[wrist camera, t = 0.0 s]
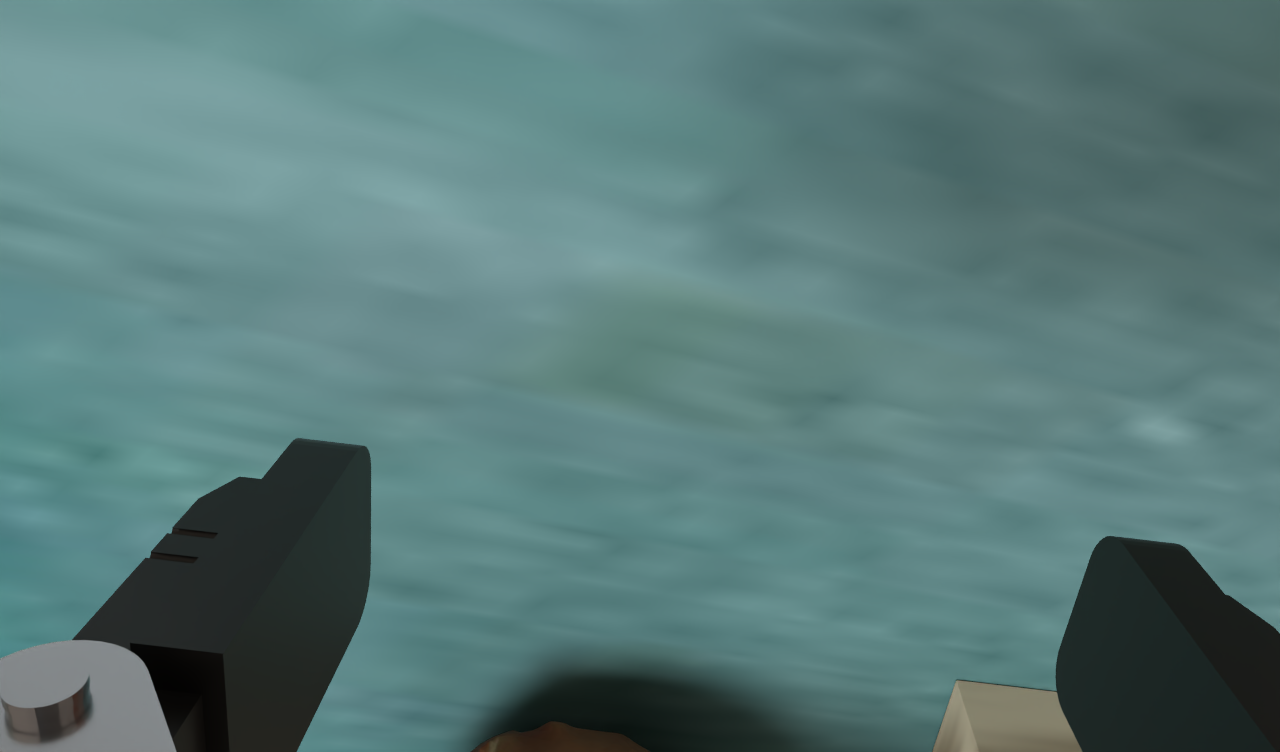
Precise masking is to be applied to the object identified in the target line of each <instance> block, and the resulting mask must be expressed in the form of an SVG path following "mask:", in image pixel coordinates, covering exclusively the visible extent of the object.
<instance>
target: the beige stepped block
mask: <svg viewBox="0 0 1280 752" xmlns="http://www.w3.org/2000/svg"><path fill="white" fill-rule="evenodd" d="M932 752H1082V750H1081V748H1080V746H1079V744H1078V742H1077V740H1076V738H1075V736H1074V734H1073V732H1072V730H1071V728H1070V726H1069V724H1068V722H1067V719H1066V717H1065V715H1064V713H1063V711H1062V709H1061V706H1060V703H1059V700H1058V695H1057V692H1052V691H1044V690H1036V689H1027V688H1019V687H1010V686H1002V685H993V684H985V683H976V682H968V681H960V680H956V683H955V686H954V689H953V692H952V695H951V698H950V701H949V704H948V707H947V710H946V712H945V715H944V718H943V721H942V724H941V727H940V730H939V733H938V736H937V739H936V742H935V745H934V748H933V751H932Z"/></svg>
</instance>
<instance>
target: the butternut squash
mask: <svg viewBox="0 0 1280 752" xmlns="http://www.w3.org/2000/svg"><path fill="white" fill-rule="evenodd" d="M471 752H650V751H648V750H647V749H645V748H643V747H641V746H640V745H638V744H637V743H635V742H634V741H632V740H631V739H629V738H628V737H626V736H625V735H622V734H619V733H611V732H603V731H595V730H588V729H580V728H575V727H572V726H569V725H568V724H566V723H561V722H555V721H550V722H548V723H546V724H544V725H542V726H541V727H539V728H537V729H535V730H531V731H527V732H517V731H514V730H511V731H507V732H505V733H502V734H499V735H497V736H494V737H492V738H490V739H489V740H487V741H485V742H483V743H481V744H480V745H478V746H477V747H476V748H475V749H474V750H472V751H471Z"/></svg>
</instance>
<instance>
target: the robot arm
mask: <svg viewBox="0 0 1280 752" xmlns="http://www.w3.org/2000/svg"><path fill="white" fill-rule="evenodd" d="M370 565H371V460H370V454H369V451H368V449H367V447H365V446H361V445H352V444H344V443H335V442H327V441H319V440H310V439H302V438H297V439H295V440H293V441H292V443H291V444H290V445H289V446H288V447H287V449H286V450H285V451H284V452H283V453H282V455H281V456H280V457H279V458H278V460H277V461H276V462H275V463H274V465H273V466H272V467H271V468H270V470H269V471H268V472H267V473H266V475H265V476H264V477H263V478H262V479H255V478H247V477H238V478H236V479H234V480H232V481H231V482H229V483H227V484H225V485H223V486H221V487H219V488H218V489H216V490H214V491H212V492H210V493H208V494H206V495H205V496H203V497H201V498H199V499H198V500H197V501H196V502H195V503H194V504H193V505H192V506H191V508H190V509H189V510H188V511H187V512H186V513H185V514H184V515H183V516H182V518H181V519H180V520H179V521H178V522H177V523H176V524H175V525H174V527H173V529H172V533H171V534H169V533H167V534H166V535H165V537H164V538H163V539H162V540H161V541H160V542H159V543H158V544H157V546H156V547H155V548H154V549H153V550H152V551H151V556H150V558H145V559H144V560H143V561H142V562H141V563H140V565H139V566H138V567H137V568H136V569H135V570H134V571H133V572H132V573H131V575H130V576H129V577H128V578H127V579H126V580H125V581H124V582H123V584H122V585H121V586H120V587H119V588H118V589H117V590H116V591H115V592H114V594H113V595H112V596H111V597H110V598H109V599H108V600H107V601H106V603H105V604H104V605H103V606H102V607H101V608H100V609H99V610H98V611H97V613H96V614H95V615H94V616H93V617H92V618H91V619H90V620H89V622H88V623H87V624H86V625H85V626H84V627H83V628H82V629H81V630H80V632H79V633H78V634H77V635H76V636H75V637H74V638H73V639H72V640H70V641H61V642H53V643H48V644H43V645H39V646H35V647H31V648H28V649H25V650H21V651H18V652H16V653H13V654H11V655H8V656H6V657H3V658H1V659H0V752H297V750H298V748H299V746H300V744H301V741H302V739H303V737H304V735H305V733H306V731H307V729H308V727H309V725H310V723H311V721H312V719H313V717H314V715H315V713H316V711H317V709H318V707H319V705H320V703H321V701H322V698H323V696H324V694H325V692H326V690H327V688H328V686H329V684H330V682H331V680H332V678H333V676H334V674H335V672H336V670H337V668H338V666H339V664H340V662H341V660H342V658H343V655H344V653H345V651H346V649H347V647H348V645H349V643H350V641H351V639H352V637H353V635H354V633H355V631H356V629H357V627H358V624H359V622H360V619H361V617H362V613H363V610H364V606H365V603H366V598H367V593H368V587H369V580H370ZM1056 688H1057V695H1058V700H1059V703H1060V706H1061V709H1062V711H1063V713H1064V715H1065V717H1066V719H1067V722H1068V724H1069V726H1070V728H1071V730H1072V732H1073V734H1074V736H1075V738H1076V740H1077V742H1078V744H1079V746H1080V748H1081V750H1082V752H1280V633H1279V632H1278V631H1277V630H1276V629H1275V628H1274V627H1273V626H1271V625H1270V624H1268V623H1267V622H1266V621H1264V620H1263V619H1261V618H1260V617H1259V616H1257V615H1256V614H1254V613H1253V612H1251V611H1250V610H1249V609H1247V608H1246V607H1244V606H1243V605H1242V604H1240V603H1239V602H1237V601H1236V600H1235V599H1233V598H1232V597H1230V596H1229V595H1225V594H1224V593H1223V591H1222V590H1221V589H1220V588H1219V587H1218V586H1217V584H1216V583H1215V582H1214V581H1213V580H1212V578H1211V577H1210V576H1209V575H1208V574H1207V572H1206V571H1205V570H1204V569H1203V568H1202V566H1201V565H1200V564H1199V563H1198V562H1197V561H1196V559H1195V558H1194V557H1193V556H1192V555H1191V553H1190V552H1189V551H1188V550H1187V549H1186V548H1185V547H1183V546H1181V545H1179V544H1174V543H1166V542H1157V541H1149V540H1140V539H1132V538H1123V537H1115V536H1107V537H1105V538H1103V539H1102V540H1101V541H1099V543H1098V544H1097V545H1096V547H1095V548H1094V550H1093V552H1092V555H1091V557H1090V560H1089V563H1088V566H1087V569H1086V572H1085V575H1084V578H1083V581H1082V584H1081V587H1080V590H1079V593H1078V596H1077V599H1076V601H1075V604H1074V607H1073V610H1072V613H1071V616H1070V619H1069V622H1068V625H1067V628H1066V631H1065V634H1064V637H1063V640H1062V643H1061V646H1060V649H1059V652H1058V657H1057V664H1056Z"/></svg>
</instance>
